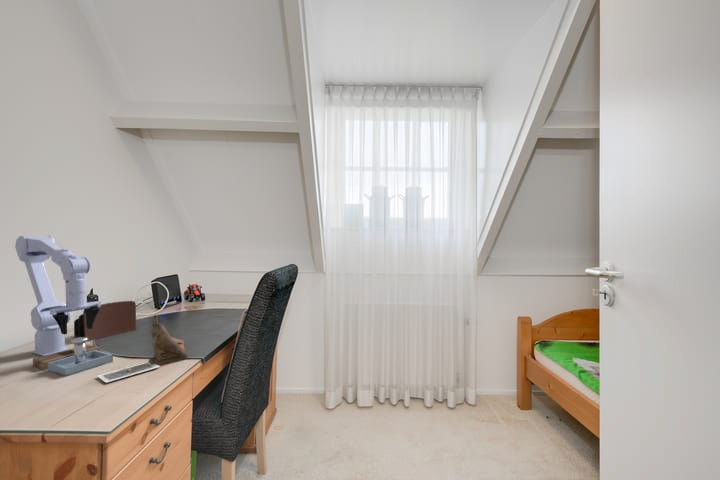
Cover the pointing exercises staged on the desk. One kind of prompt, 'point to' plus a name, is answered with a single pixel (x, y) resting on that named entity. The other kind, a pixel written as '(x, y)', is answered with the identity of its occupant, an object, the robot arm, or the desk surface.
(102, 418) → the desk surface
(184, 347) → the sunglasses case
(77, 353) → the steel pin
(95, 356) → the tray
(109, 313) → the letter holder
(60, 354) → the brown flat block
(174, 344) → the brown carved statuette
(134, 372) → the touchpad
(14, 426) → the desk surface
